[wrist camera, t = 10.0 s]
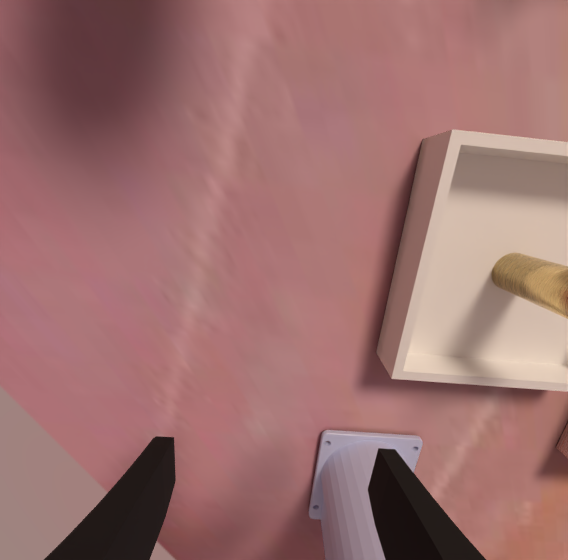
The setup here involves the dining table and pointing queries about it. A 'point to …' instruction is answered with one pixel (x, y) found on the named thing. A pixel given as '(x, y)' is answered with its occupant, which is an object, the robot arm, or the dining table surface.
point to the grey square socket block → (564, 442)
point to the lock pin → (534, 281)
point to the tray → (478, 264)
